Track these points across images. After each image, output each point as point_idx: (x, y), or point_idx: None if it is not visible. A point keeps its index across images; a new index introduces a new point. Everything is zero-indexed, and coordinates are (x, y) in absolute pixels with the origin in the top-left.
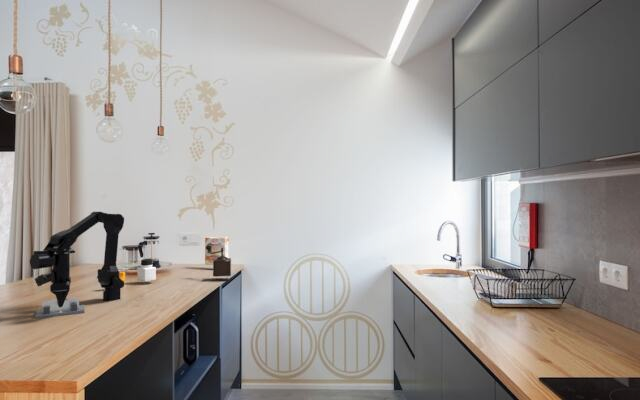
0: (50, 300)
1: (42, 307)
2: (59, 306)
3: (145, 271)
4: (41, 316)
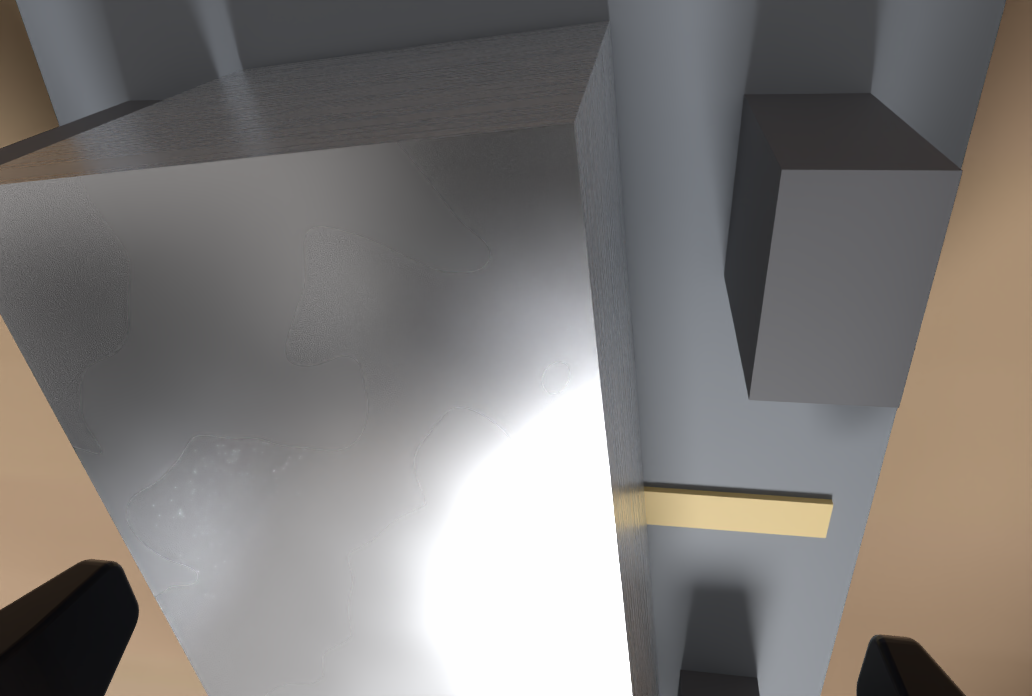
0: (486, 509)
1: (360, 83)
2: (72, 586)
3: None
4: (59, 49)
